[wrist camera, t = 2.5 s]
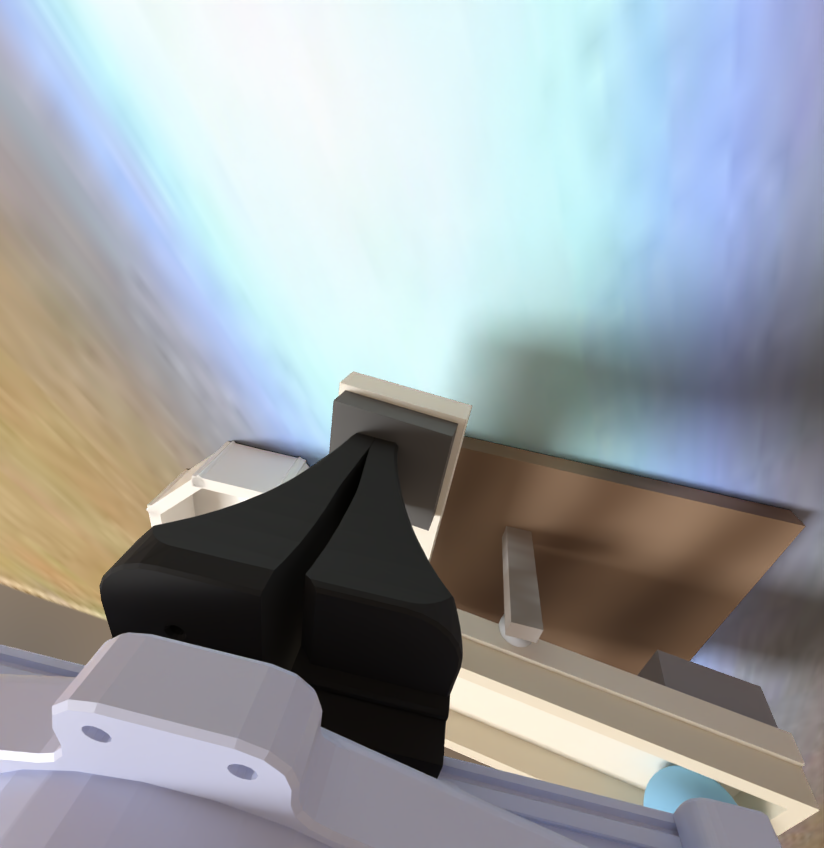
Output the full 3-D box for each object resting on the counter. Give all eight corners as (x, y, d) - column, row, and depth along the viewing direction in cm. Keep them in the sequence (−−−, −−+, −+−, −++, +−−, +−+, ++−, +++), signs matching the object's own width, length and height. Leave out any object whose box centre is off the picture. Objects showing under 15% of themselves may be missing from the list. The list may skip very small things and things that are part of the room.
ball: (759, 779, 15) (790, 899, 12) (712, 814, 17) (731, 927, 14) (663, 732, 16) (673, 835, 13) (627, 769, 18) (629, 869, 15)
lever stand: (790, 510, 19) (912, 640, 13) (641, 693, 26) (680, 824, 21) (390, 419, 20) (353, 506, 14) (357, 621, 27) (325, 727, 22)
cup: (356, 469, 21) (338, 508, 19) (341, 593, 26) (324, 637, 23) (177, 427, 22) (135, 459, 19) (194, 556, 27) (162, 596, 24)
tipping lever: (947, 510, 12) (1104, 634, 9) (691, 752, 20) (720, 871, 16) (375, 352, 16) (321, 398, 12) (341, 614, 23) (301, 689, 20)
